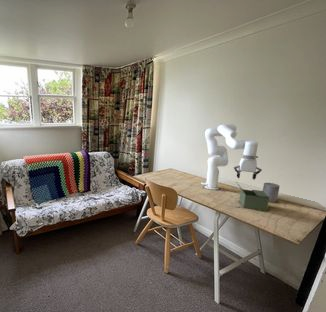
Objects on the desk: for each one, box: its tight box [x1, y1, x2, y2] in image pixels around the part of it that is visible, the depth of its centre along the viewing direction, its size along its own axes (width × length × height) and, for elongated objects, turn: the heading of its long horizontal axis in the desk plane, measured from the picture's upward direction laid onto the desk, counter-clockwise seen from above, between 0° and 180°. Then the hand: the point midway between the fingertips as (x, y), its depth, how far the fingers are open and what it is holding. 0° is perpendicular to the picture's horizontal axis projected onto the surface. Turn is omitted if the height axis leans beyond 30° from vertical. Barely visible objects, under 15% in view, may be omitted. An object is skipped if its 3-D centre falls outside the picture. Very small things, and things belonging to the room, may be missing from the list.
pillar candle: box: [262, 182, 281, 203], centre depth 158 cm, size 10×10×15 cm
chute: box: [238, 189, 270, 212], centre depth 149 cm, size 14×13×11 cm
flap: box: [235, 181, 245, 193], centre depth 151 cm, size 7×13×1 cm
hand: (245, 178), depth 148 cm, fingers open, 9 cm apart
